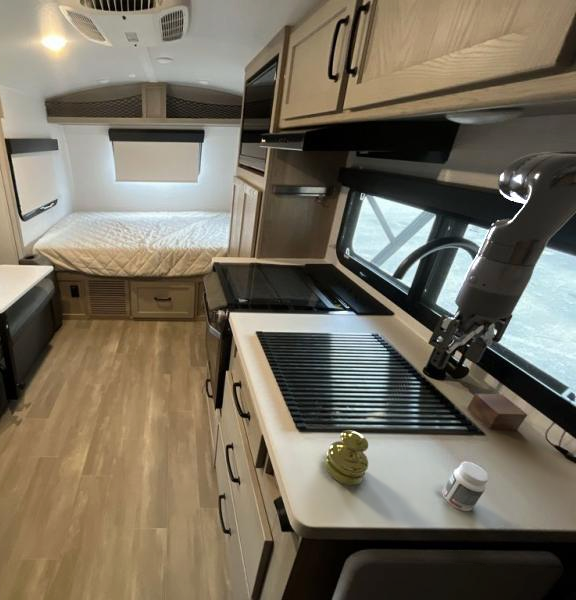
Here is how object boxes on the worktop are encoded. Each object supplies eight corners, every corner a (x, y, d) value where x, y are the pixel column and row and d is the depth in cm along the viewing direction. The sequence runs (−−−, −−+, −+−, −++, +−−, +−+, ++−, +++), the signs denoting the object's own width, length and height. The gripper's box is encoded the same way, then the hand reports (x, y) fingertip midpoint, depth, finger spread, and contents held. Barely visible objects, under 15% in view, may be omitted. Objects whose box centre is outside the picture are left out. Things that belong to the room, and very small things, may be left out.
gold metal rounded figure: (317, 455, 73) (328, 422, 68) (349, 453, 74) (362, 420, 69) (335, 487, 66) (348, 453, 62) (370, 485, 67) (385, 450, 63)
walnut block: (517, 429, 82) (527, 414, 79) (489, 428, 82) (498, 413, 79) (493, 408, 88) (502, 394, 86) (467, 407, 88) (475, 393, 86)
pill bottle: (478, 510, 63) (499, 481, 59) (457, 513, 62) (476, 484, 59) (456, 486, 67) (474, 458, 64) (435, 489, 67) (452, 461, 63)
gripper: (485, 297, 50) (444, 382, 57) (550, 289, 54) (503, 370, 61) (438, 278, 57) (406, 356, 64) (499, 272, 60) (462, 347, 67)
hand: (453, 363), depth 62 cm, fingers open, 8 cm apart
